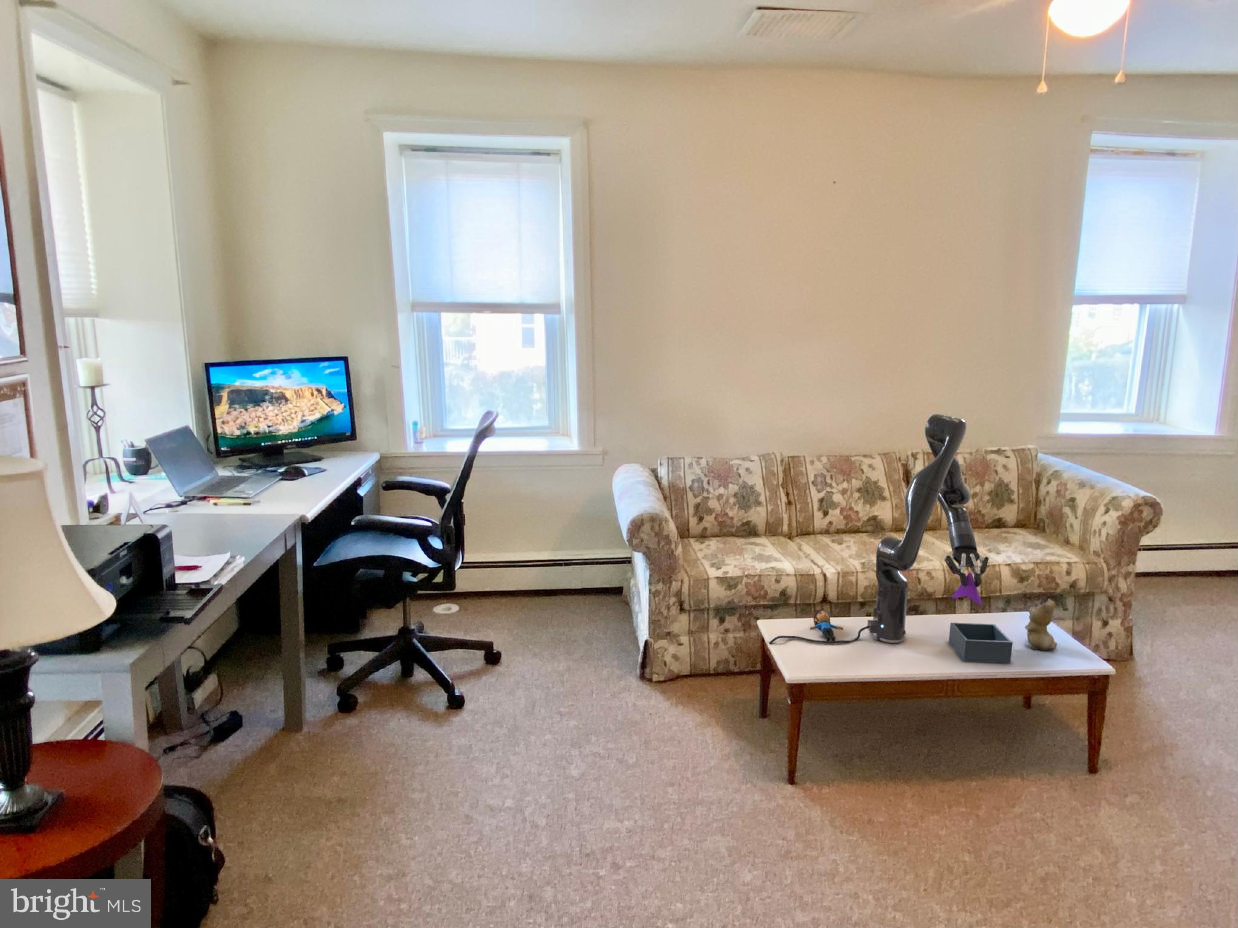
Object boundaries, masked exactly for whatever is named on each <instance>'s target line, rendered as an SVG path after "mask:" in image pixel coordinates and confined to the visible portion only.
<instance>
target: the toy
mask: <svg viewBox="0 0 1238 928" xmlns="http://www.w3.org/2000/svg"><path fill="white" fill-rule="evenodd" d="M812 619H813V626H809V631H813V630H817V629H818V630H821V634H822V636H823V637H824V638H825V641H836V636H835V634H834V630H833V629H835V630H838V631H844V627H843V626H840V625H834V624H832V623H831V616H830V614H829V612H828V611H827V610H825V609H816V610H815V611H814V613H813V618H812ZM830 639H831V640H830Z"/></svg>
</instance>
